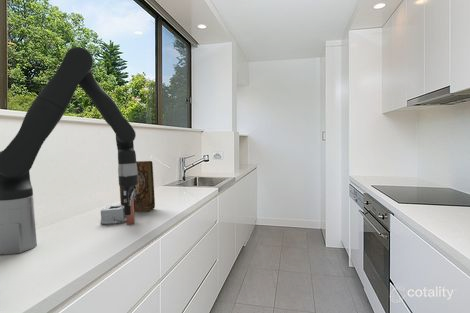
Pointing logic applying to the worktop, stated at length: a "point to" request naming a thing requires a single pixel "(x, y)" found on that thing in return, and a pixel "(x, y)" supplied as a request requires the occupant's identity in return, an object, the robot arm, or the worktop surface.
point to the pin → (131, 217)
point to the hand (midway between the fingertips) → (130, 212)
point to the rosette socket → (113, 215)
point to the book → (143, 187)
